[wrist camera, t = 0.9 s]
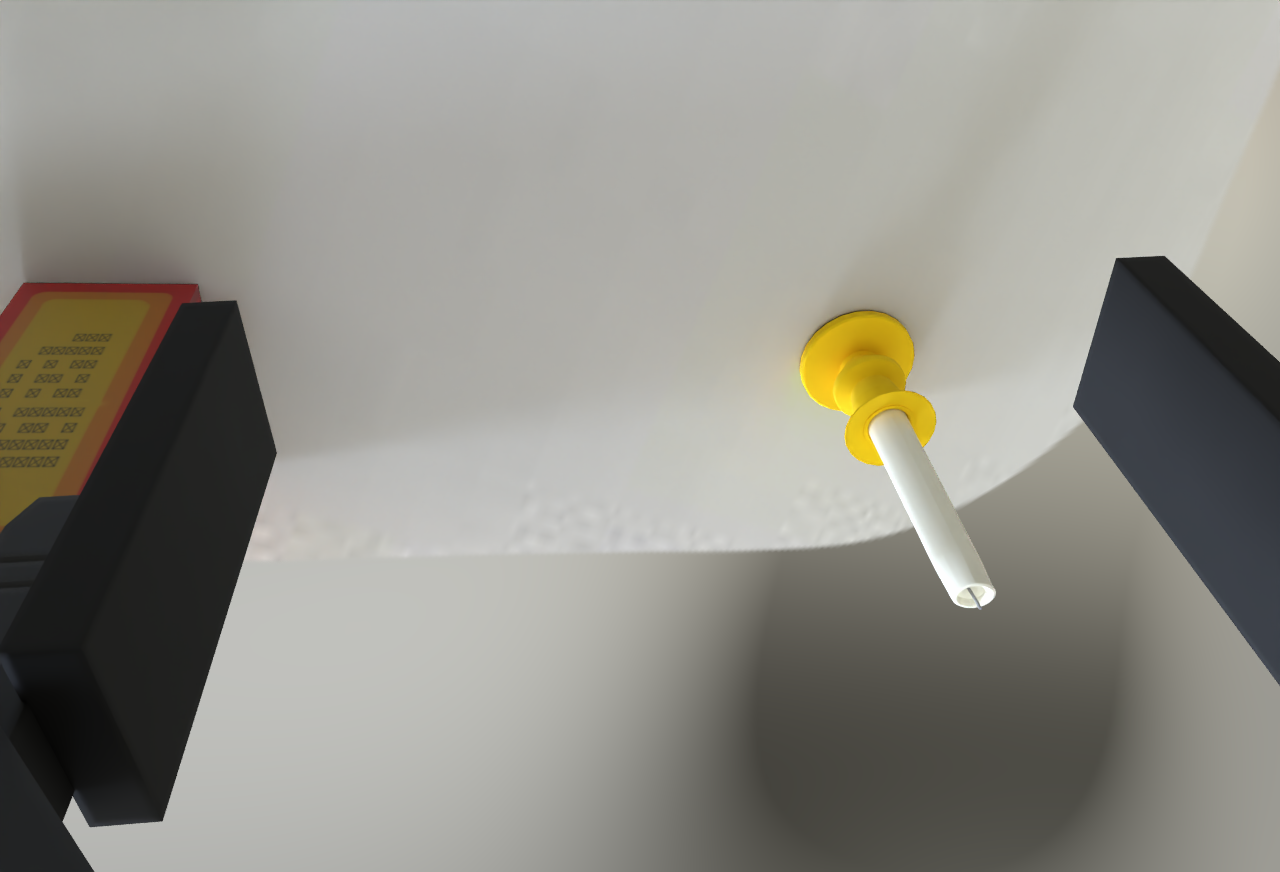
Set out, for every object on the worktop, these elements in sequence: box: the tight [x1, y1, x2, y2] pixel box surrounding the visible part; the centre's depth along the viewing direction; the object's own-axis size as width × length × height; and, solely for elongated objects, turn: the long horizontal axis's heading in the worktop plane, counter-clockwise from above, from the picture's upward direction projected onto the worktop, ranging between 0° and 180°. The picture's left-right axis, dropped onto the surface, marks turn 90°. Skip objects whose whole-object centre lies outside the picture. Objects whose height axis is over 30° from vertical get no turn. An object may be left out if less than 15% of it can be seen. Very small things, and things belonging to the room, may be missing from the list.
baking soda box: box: [0, 283, 201, 533], centre depth 38 cm, size 10×6×16 cm
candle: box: [800, 311, 996, 609], centre depth 42 cm, size 5×5×16 cm
